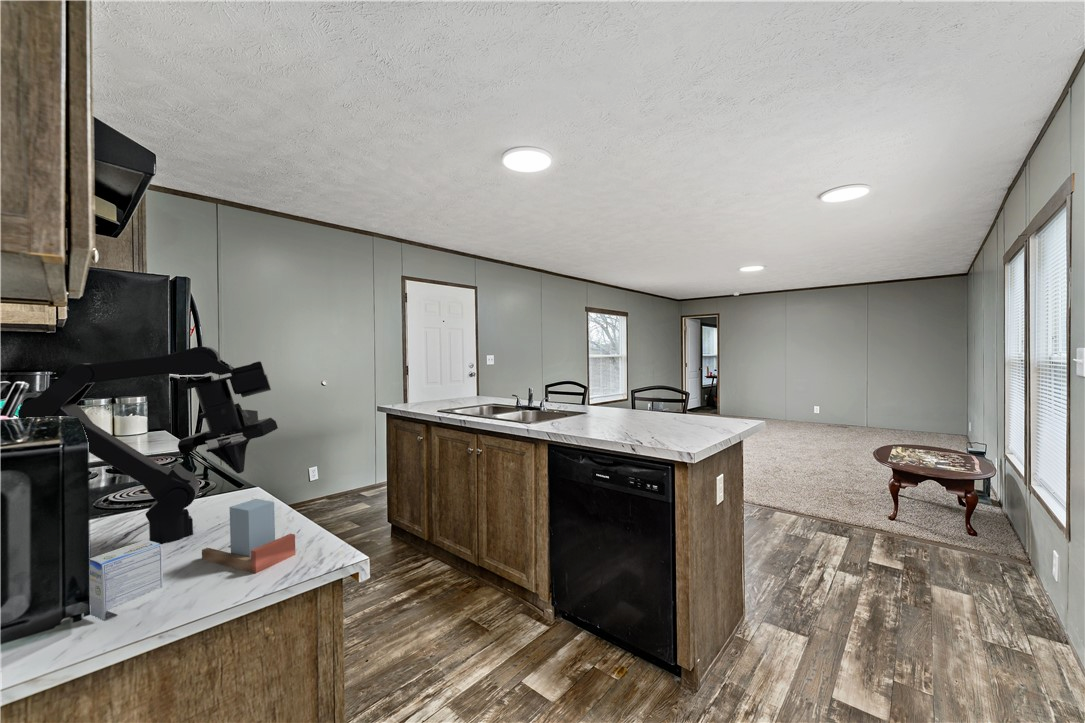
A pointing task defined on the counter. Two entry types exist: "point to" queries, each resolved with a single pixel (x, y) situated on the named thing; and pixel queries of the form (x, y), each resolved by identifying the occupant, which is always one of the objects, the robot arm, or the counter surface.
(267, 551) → the key housing
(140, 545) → the medicine box
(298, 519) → the counter surface
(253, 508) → the slate key
